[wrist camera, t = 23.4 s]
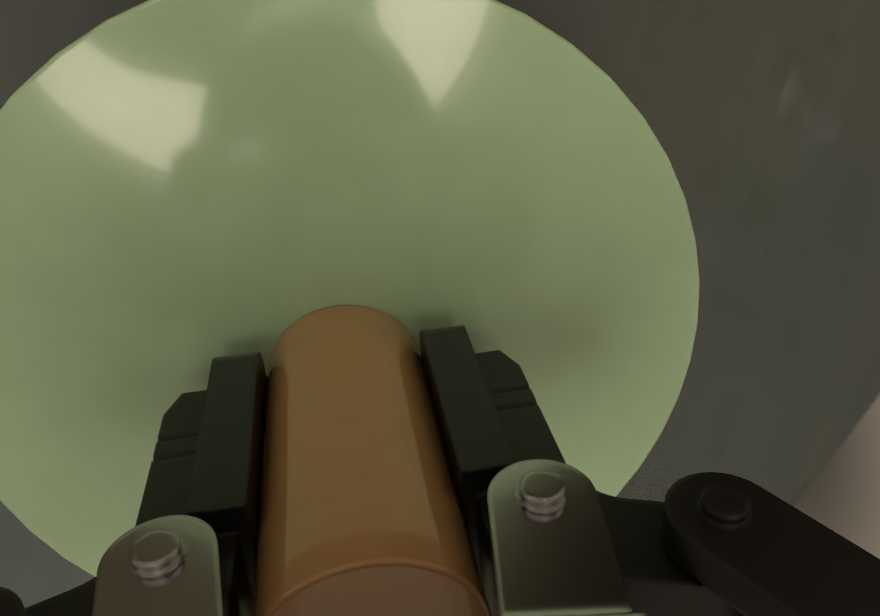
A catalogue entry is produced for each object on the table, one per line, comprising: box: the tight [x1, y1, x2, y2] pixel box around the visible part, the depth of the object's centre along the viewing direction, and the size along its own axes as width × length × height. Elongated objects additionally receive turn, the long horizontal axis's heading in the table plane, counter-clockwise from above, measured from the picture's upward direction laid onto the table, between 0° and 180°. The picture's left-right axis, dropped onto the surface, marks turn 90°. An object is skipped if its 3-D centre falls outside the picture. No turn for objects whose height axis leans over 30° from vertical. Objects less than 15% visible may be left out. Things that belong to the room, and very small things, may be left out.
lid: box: [0, 0, 700, 616], centre depth 11 cm, size 13×13×7 cm
